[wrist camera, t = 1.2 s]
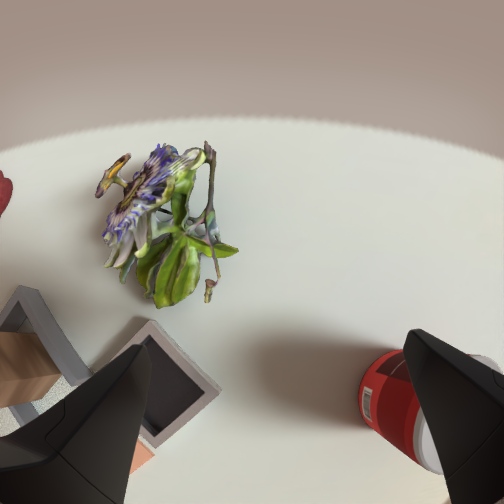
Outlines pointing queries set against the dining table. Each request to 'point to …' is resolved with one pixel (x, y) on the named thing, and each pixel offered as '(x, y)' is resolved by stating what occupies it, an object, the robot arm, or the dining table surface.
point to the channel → (52, 338)
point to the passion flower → (163, 224)
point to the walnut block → (24, 369)
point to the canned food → (400, 408)
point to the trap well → (170, 385)
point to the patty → (5, 192)
